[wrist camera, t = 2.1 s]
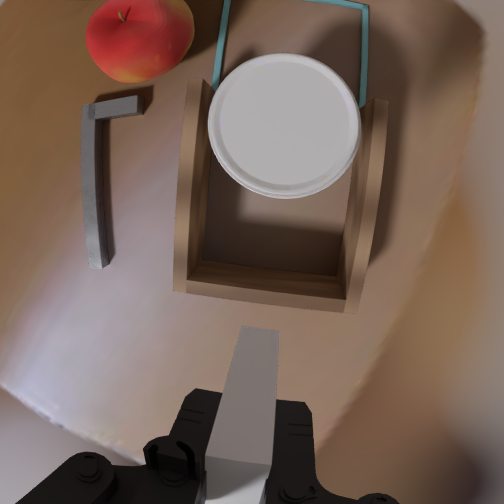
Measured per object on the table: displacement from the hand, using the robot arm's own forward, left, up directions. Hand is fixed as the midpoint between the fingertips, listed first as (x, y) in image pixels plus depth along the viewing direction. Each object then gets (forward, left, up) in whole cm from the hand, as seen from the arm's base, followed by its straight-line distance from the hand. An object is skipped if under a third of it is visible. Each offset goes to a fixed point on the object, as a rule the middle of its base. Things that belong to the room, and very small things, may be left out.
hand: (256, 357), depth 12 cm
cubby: (-5, 0, -20) cm, 20 cm away
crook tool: (-4, -17, -20) cm, 27 cm away
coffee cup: (-10, 0, -20) cm, 22 cm away
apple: (-19, -14, -20) cm, 31 cm away
